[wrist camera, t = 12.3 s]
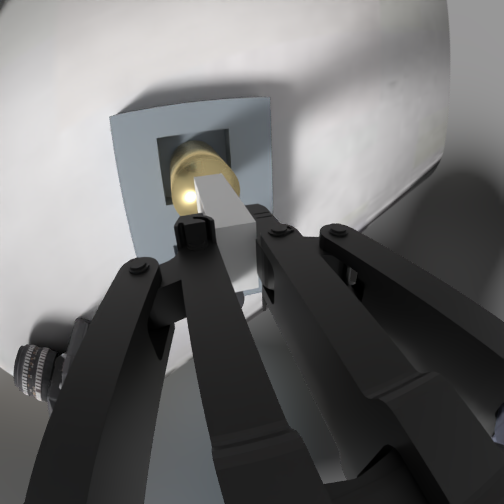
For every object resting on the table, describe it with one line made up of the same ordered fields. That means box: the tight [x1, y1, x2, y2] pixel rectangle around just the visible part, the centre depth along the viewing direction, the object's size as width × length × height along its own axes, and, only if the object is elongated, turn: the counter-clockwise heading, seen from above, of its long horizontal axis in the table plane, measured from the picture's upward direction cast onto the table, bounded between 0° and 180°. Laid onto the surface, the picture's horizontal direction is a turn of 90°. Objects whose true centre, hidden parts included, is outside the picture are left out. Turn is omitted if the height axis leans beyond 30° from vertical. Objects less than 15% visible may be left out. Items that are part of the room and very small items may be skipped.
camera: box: [14, 318, 92, 417], centre depth 26 cm, size 14×11×10 cm
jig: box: [109, 97, 273, 308], centre depth 23 cm, size 18×12×8 cm, turn 2°
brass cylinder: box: [170, 140, 240, 216], centre depth 20 cm, size 4×4×8 cm
